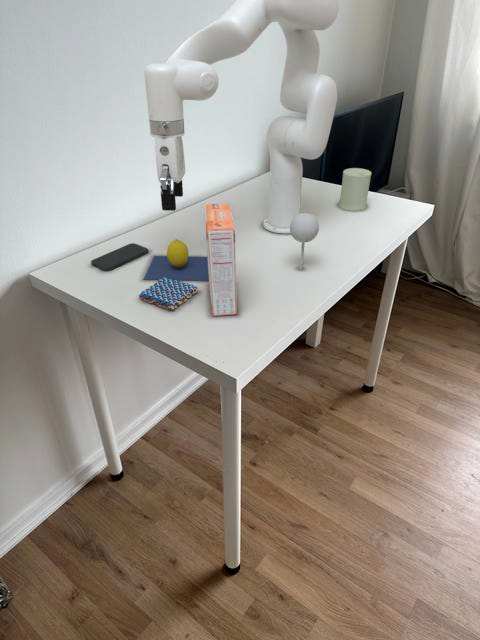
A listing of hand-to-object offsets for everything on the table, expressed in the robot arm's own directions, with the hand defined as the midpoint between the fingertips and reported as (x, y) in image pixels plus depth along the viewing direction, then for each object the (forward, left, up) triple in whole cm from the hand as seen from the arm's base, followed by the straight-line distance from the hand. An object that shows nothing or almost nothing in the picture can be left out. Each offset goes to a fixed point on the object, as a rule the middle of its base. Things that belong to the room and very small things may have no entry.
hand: (173, 202), depth 109 cm
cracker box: (-13, +16, -18) cm, 27 cm away
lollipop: (-32, 0, -18) cm, 37 cm away
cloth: (-1, +1, -18) cm, 18 cm away
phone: (+17, -4, -18) cm, 25 cm away
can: (-52, -46, -18) cm, 72 cm away
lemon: (0, +1, -18) cm, 18 cm away
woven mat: (0, +15, -18) cm, 23 cm away
